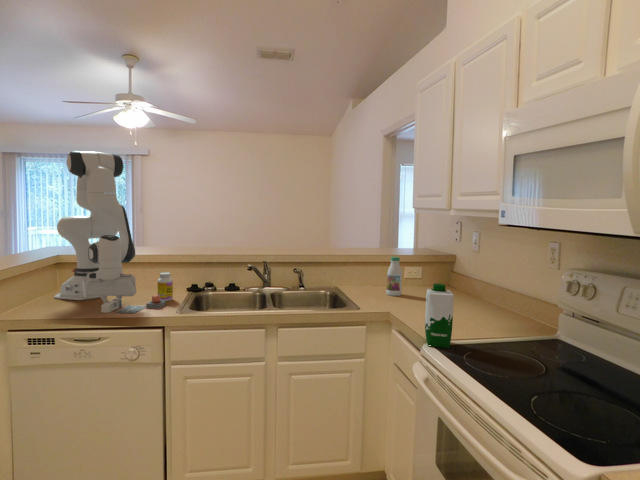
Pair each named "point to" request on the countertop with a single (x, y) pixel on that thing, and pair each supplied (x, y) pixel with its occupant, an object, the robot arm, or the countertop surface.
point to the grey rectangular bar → (110, 306)
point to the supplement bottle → (165, 287)
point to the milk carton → (439, 316)
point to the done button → (156, 299)
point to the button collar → (155, 304)
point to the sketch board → (131, 309)
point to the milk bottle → (394, 278)
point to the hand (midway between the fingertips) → (111, 305)
